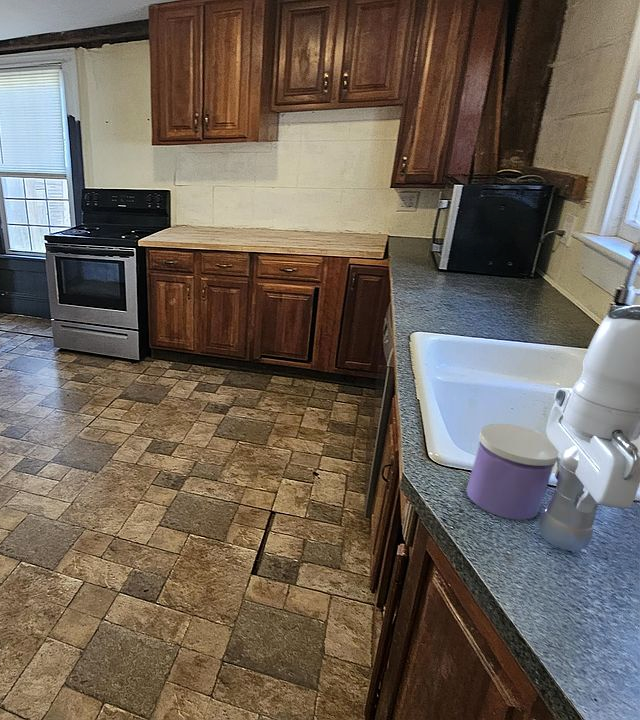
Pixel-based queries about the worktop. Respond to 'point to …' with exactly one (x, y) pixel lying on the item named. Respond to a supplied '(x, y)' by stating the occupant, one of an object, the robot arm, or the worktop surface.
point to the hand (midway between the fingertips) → (571, 494)
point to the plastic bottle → (567, 509)
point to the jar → (511, 471)
